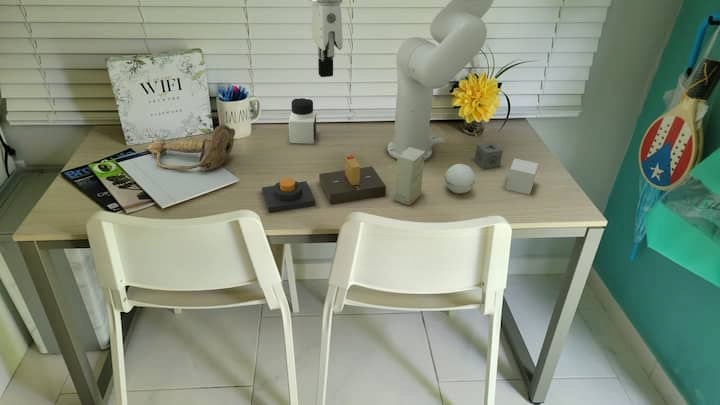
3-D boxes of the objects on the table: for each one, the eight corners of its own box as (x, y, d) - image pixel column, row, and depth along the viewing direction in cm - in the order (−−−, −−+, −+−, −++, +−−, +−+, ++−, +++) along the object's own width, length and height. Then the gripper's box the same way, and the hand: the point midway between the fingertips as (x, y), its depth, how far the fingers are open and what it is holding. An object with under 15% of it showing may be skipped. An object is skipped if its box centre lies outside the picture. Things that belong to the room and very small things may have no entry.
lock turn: (359, 184, 124) (360, 165, 121) (351, 185, 123) (352, 166, 120) (352, 173, 128) (353, 154, 125) (344, 174, 127) (345, 156, 124)
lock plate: (371, 176, 133) (372, 165, 131) (385, 196, 125) (386, 185, 123) (319, 183, 129) (319, 173, 127) (330, 205, 121) (330, 193, 120)
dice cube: (499, 166, 140) (502, 150, 137) (483, 169, 138) (486, 152, 135) (490, 158, 143) (493, 142, 141) (474, 160, 142) (477, 144, 139)
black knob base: (306, 186, 128) (306, 174, 126) (315, 206, 121) (315, 193, 119) (262, 193, 125) (261, 180, 123) (268, 213, 118) (267, 200, 116)
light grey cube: (529, 195, 128) (534, 174, 125) (505, 189, 130) (510, 168, 127) (533, 183, 133) (538, 163, 129) (509, 178, 135) (514, 158, 131)
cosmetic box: (409, 206, 122) (414, 161, 115) (393, 200, 124) (396, 156, 117) (421, 194, 126) (426, 151, 120) (405, 189, 128) (409, 145, 122)
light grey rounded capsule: (440, 183, 131) (444, 158, 127) (469, 183, 131) (473, 158, 127) (447, 205, 123) (451, 178, 119) (477, 205, 123) (482, 179, 119)
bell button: (293, 183, 123) (293, 177, 122) (296, 191, 120) (296, 184, 119) (278, 185, 122) (278, 179, 121) (281, 193, 119) (281, 187, 118)
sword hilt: (211, 159, 125) (232, 115, 133) (120, 146, 128) (146, 104, 137) (221, 184, 133) (241, 141, 141) (136, 171, 137) (160, 130, 145)
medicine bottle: (314, 144, 147) (313, 105, 141) (289, 143, 147) (287, 104, 140) (316, 133, 153) (315, 95, 146) (292, 132, 153) (291, 94, 146)
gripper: (352, 1, 108) (350, 85, 118) (332, -13, 120) (332, 64, 130) (317, 3, 106) (318, 88, 116) (301, -12, 117) (303, 66, 128)
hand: (325, 75), depth 123 cm, fingers closed
